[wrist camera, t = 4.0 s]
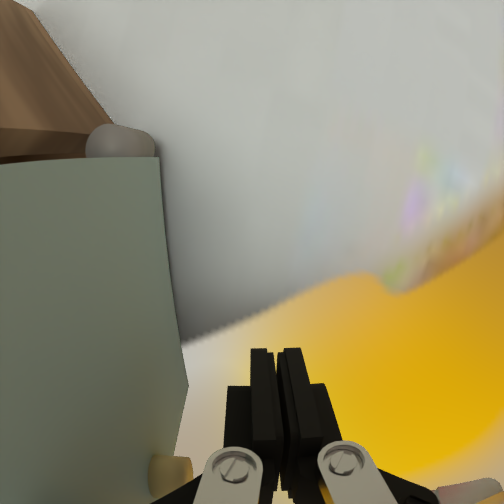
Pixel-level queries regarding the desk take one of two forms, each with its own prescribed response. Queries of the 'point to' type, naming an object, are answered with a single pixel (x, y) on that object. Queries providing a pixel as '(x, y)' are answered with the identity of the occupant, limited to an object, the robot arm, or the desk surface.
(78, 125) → the cabinet
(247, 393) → the robot arm
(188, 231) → the desk surface
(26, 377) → the cabinet door
